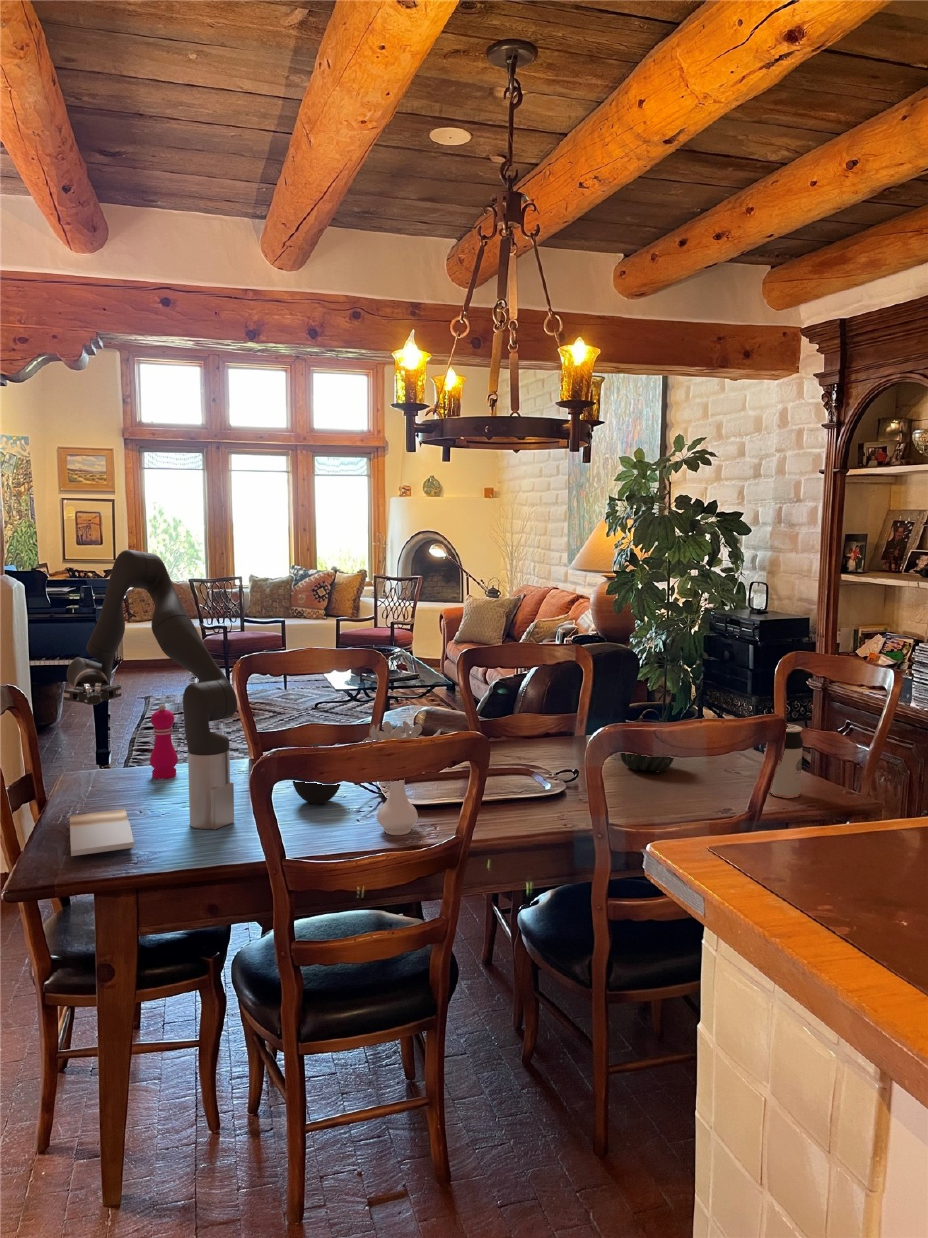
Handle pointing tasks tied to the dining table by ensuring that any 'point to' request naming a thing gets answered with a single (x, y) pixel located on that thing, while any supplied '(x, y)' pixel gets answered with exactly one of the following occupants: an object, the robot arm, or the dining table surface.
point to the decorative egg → (315, 790)
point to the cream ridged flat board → (98, 818)
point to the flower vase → (396, 784)
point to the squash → (646, 761)
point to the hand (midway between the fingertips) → (94, 700)
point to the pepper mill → (163, 745)
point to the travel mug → (790, 764)
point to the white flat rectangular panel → (101, 838)
